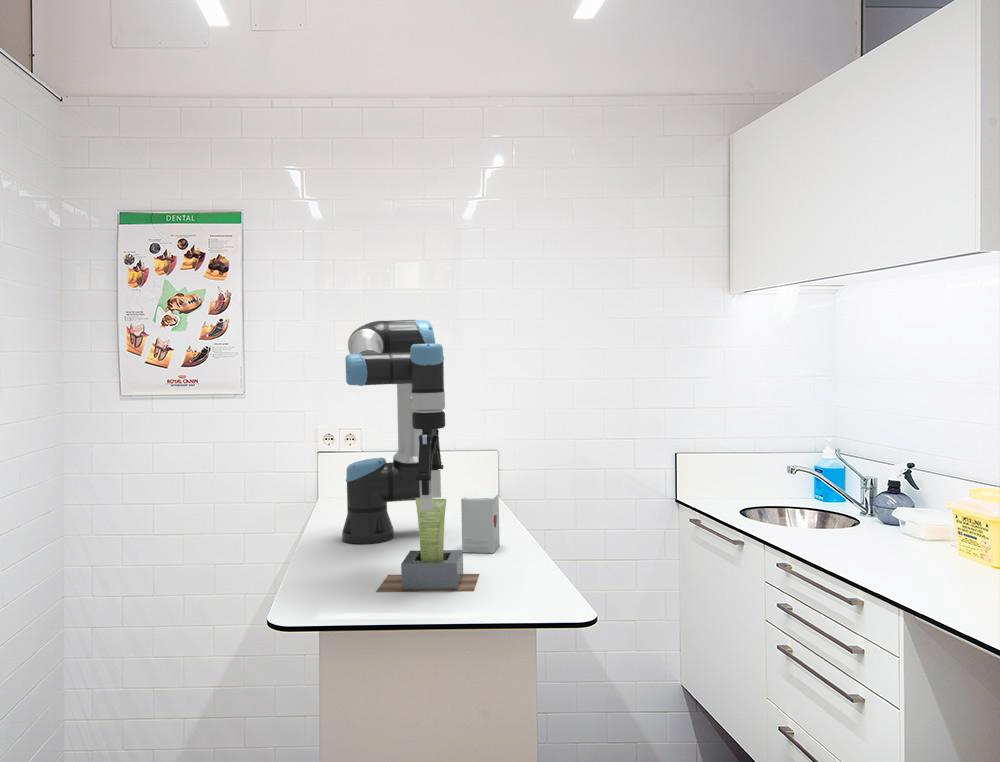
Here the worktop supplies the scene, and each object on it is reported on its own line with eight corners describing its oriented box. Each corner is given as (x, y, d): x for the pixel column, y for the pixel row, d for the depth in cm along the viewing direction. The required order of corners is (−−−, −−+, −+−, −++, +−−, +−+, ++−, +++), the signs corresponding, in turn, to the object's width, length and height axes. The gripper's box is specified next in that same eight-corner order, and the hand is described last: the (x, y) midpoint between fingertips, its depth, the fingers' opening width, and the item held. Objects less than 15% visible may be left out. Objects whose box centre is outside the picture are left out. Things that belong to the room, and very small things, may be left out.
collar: (411, 575, 189) (410, 550, 189) (463, 575, 188) (462, 550, 188) (401, 590, 177) (401, 563, 177) (457, 589, 176) (456, 563, 176)
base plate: (388, 579, 190) (388, 574, 190) (479, 578, 189) (479, 573, 189) (375, 597, 176) (375, 592, 176) (474, 596, 175) (473, 591, 175)
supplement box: (494, 553, 213) (492, 498, 212) (461, 553, 214) (460, 498, 214) (500, 545, 221) (499, 492, 221) (469, 545, 223) (468, 492, 223)
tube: (440, 577, 186) (438, 495, 186) (449, 582, 182) (446, 498, 181) (418, 581, 184) (415, 497, 183) (426, 586, 179) (423, 500, 178)
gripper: (420, 407, 194) (423, 493, 195) (402, 416, 169) (405, 514, 170) (451, 406, 193) (453, 492, 194) (437, 415, 169) (439, 514, 169)
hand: (431, 503), depth 182 cm, fingers open, 13 cm apart
